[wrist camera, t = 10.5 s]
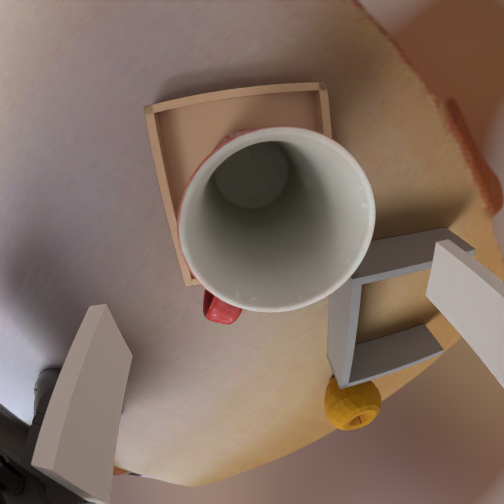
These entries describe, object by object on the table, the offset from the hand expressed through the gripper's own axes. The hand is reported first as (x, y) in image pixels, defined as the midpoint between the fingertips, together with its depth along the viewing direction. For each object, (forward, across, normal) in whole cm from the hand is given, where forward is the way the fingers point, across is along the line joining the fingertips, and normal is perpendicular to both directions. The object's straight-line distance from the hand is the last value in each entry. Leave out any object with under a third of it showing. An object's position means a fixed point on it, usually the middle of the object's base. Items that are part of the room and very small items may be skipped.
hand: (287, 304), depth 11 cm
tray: (+17, +1, 0) cm, 17 cm away
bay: (+17, +16, -16) cm, 29 cm away
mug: (+17, 0, 0) cm, 17 cm away
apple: (+18, +11, -31) cm, 38 cm away
